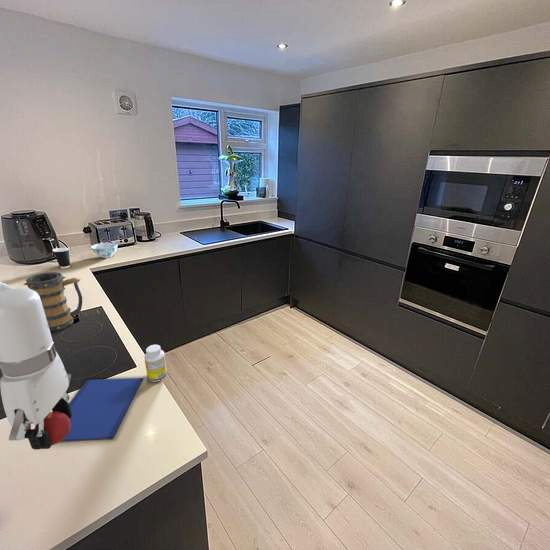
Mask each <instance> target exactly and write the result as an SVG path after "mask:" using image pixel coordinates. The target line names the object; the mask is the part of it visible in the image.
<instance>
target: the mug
mask: <svg viewBox="0 0 550 550" xmlns="http://www.w3.org/2000/svg"><path fill="white" fill-rule="evenodd" d="M66 278H67V276H64V275H63V274H62V273H61V272H56V271H53V272H52V271H51V272H43V273H38V274H37V273H36V274H34V275H31V276H29V277H27V279H26V280H25V283H23V284H22V285H23V286H27V289H31V290H33V291H35V292H36V293H37V294H38V295H39V297H40V299H41V302H42V306H43V309H44V312H45V316H46V319H47V323H48V326H49V330H50V332H55V331H61V330H63V329H66V328H68V327H70V326H71V325H72V324H73V323H74V320H76V319H77V316H76V315H78V314H79V313H80V312H81V311H82V307H83V295H82V292H81V290H80V287H79V282H80V281H81V280H82V279H81V278H79V277H72V278H67V279H66ZM64 279H65V280H64ZM72 284H73V287H74V289H75V291H76V293H77V296H78V303H77V306H76V309H74V310H72V309H71V308H70V307H68V304H67V301H68V300H67V297H66V296H65V292H64V291H65V290H66V286H68V285H72ZM74 317H75V318H74Z"/></svg>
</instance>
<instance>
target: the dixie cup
mask: <svg viewBox="0 0 550 550" xmlns="http://www.w3.org/2000/svg"><path fill="white" fill-rule="evenodd" d="M52 253H53V255H54V257H55V259H56V262H57V264H58V266H59V268H60V269H67V268H71V259H70V248H69V247H58V248H53V249H52Z"/></svg>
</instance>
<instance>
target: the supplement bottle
mask: <svg viewBox="0 0 550 550" xmlns="http://www.w3.org/2000/svg"><path fill="white" fill-rule="evenodd" d="M145 352H146V353H145V355H144V357H143V359H144V364H145V370H146V374H147V375H146V376H147V379H148V380H149V381H150V382H161V381H162V380H164V379H165V378H166V377H167V375H168V370H167V362H166V356H165V355H166V353H165V351H164V350H162V348H161V345H159V344H151V345H148V347H146V349H145ZM160 379H161V380H160Z"/></svg>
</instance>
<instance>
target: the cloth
mask: <svg viewBox="0 0 550 550" xmlns="http://www.w3.org/2000/svg"><path fill="white" fill-rule="evenodd" d="M143 380H144V378H143V377H134V378H133V377H132V378H130V377H129V378H106V379H105V378H99V379H86V381H85V382H84V383H83V384H82V386H81V387H80V389H79V390H78V391H77V392H76V394H75V395H74V397H73V398H72V399H71V400H70V401H69V406H70V409H71V412H72V417H71V418H70V423H71V428H70V430H69V433H68V434H67V436H66V437H65V438H64V439H63V440H61V441H60V442H64V441H68V442H69V441H86V440H88V441H89V440H106V439H109V440H110V439H114V438H115V436H116V434H117V432H118V430H119V428H120V426H121V424H122V422H123V421H124V418H125V416H126V414H127V412H128V410H129V408H130V406H131V403H132V402H133V400H134V398H135V396H136V394H137V392H138V390H139V388H140V386H141V384H142V382H143Z"/></svg>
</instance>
